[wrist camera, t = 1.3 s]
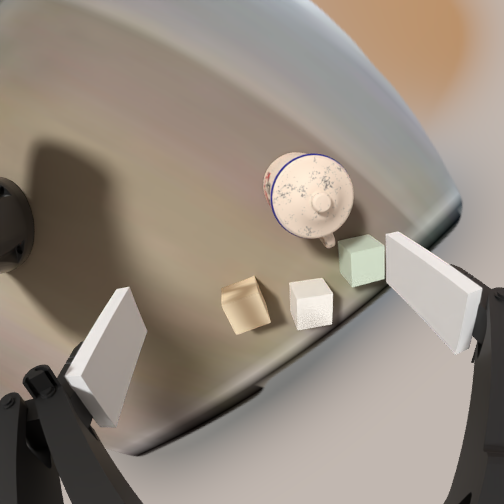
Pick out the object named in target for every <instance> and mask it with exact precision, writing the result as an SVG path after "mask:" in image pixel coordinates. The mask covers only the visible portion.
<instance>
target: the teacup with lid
mask: <svg viewBox="0 0 504 504" xmlns="http://www.w3.org/2000/svg"><path fill="white" fill-rule="evenodd" d="M263 190H264V195H265V198H266V200H267V202H268V204H269V205H270V207H271V208H272V210H273V213H274V216H275V218H276V219H277V221H278V222H279V224H280V225H281V226H282V227H283V228H284V229H285V230H287V231H288V232H289V233H291V234H293V235H295V236H298V237H301V238H308V239H313V238H320V240H321V242H322V243H323V244H324V246H325V247H326V248H331V247H333V246H335V238H334V235H333V232H335V231H336V230H337V229H338V228H340V227H341V226H342V225H343V223H344V222H345V221H346V219H347V218H348V216H349V214H350V212H351V209H352V206H353V201H354V190H353V185H352V182H351V179H350V177H349V175H348V173H347V171H346V170H345V169H344V167H343V166H342V165H341V164H340V163H338V162H337V161H336V160H334V159H332V158H330V157H328V156H325V155H321V154H305V153H298V152H294V153H288V154H285V155H283V156H281V157H279V158H277V159H276V160H275V161H274V162H273V163H272V164H271V165H270V166H269V168H268V169H267V171H266V174H265V177H264V181H263Z"/></svg>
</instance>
